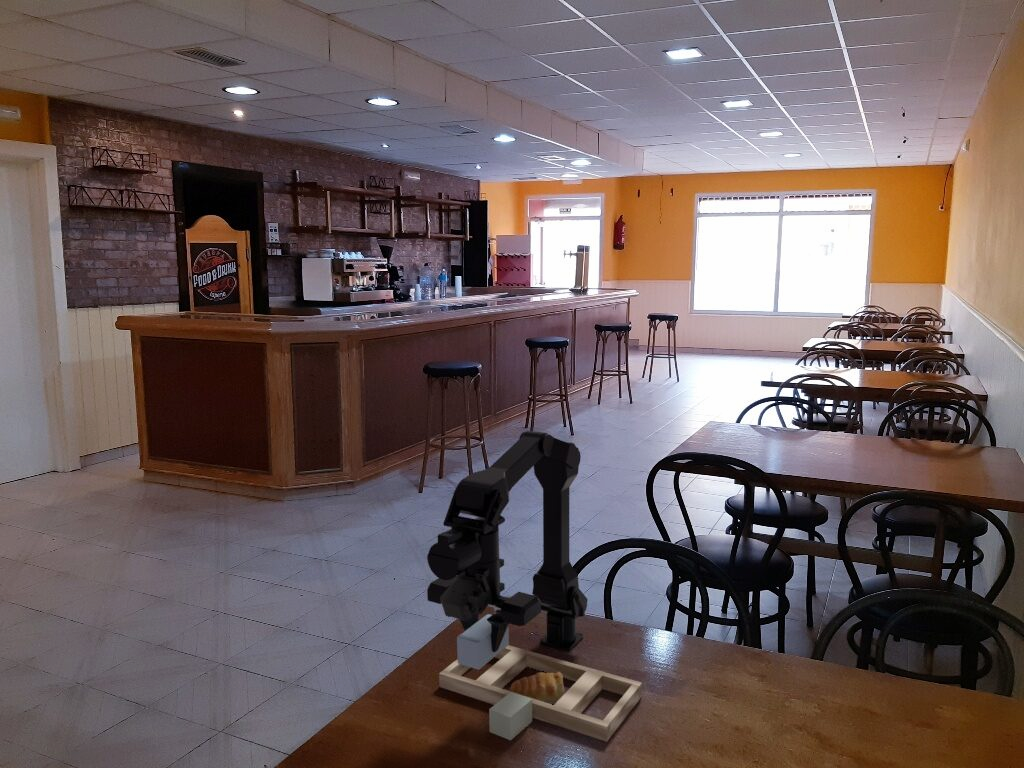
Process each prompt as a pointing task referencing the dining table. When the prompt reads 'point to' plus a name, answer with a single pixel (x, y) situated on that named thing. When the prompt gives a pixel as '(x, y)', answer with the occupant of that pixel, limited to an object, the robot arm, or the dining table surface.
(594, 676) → the frame
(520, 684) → the pastry
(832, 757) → the dining table surface
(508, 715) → the block
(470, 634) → the wing block
